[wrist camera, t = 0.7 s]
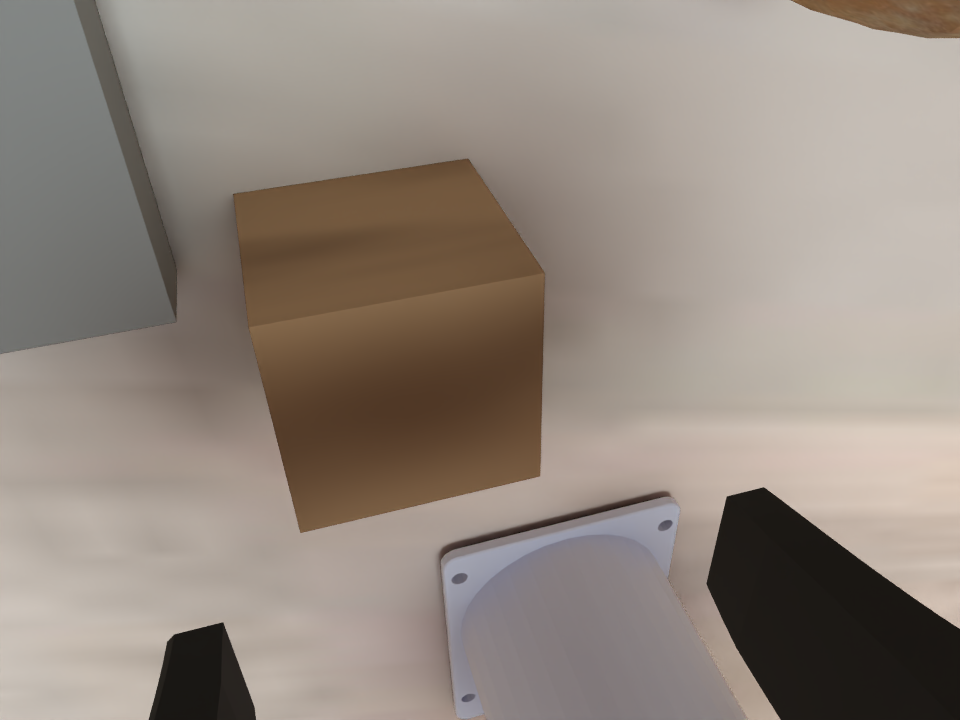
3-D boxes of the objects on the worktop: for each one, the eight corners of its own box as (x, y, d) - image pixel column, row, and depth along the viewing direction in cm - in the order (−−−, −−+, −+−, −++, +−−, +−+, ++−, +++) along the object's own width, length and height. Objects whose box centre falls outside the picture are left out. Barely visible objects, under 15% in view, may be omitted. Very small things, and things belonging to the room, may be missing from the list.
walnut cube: (474, 340, 21) (540, 475, 17) (277, 379, 20) (300, 532, 16) (466, 156, 18) (544, 273, 14) (233, 192, 17) (249, 327, 13)
